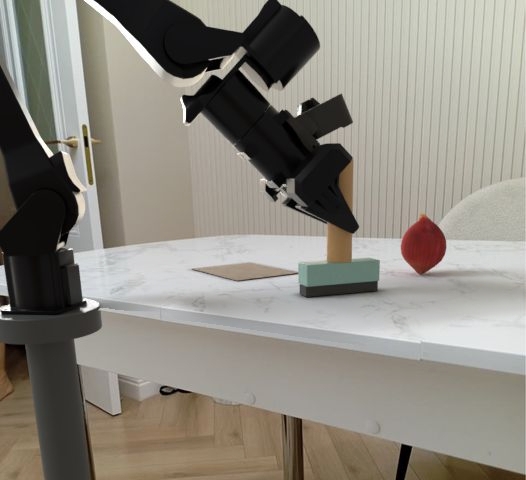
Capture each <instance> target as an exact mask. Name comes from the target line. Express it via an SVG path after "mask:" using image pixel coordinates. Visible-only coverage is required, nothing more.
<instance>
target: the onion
mask: <svg viewBox="0 0 526 480" xmlns="http://www.w3.org/2000/svg"><path fill="white" fill-rule="evenodd" d="M446 252H447V239H446V237H445V233H444V232H443V230H442V229H441V228H440V226H438V224H436V223H435V222H434V221H433V220H432V219H430V218H429V217H428V215H427V214H426V213H424V212H420V214H419V218H418V220H417V221H416V222H415V223H413V224H412V225H411V226H410V227H409V228H408V229H407V230H406V231H405V232H404V233H403V236H402V239H401V244H400V253H401V256H402V258H403V259H404V261H405V262H406V263H407V264H408V266H410V267H411V268H412V269H413V270H414V271H415V273H416V274H418V275H424V274H426V273H427V272H429V271H430V270H432V269H434V268H435V267H436V266H438V265H439V264H440V263H441V262H442V260H443V259H444V257H445V255H446Z"/></svg>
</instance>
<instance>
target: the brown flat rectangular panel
mask: <svg viewBox="0 0 526 480" xmlns="http://www.w3.org/2000/svg"><path fill="white" fill-rule="evenodd" d="M191 270H192V271H197V272H201V273H205V274H208V275H211V276H216V277H220V278H222V279H223V278H224V279H228V280H232V281H235V282H243V281H250V280H258V279H265V278H274V277H282V276H289V275H290V276H291V275H297V274H298V271H293V270H288V269H282V268H278V267H272V266H268V265H263V264H257V263H253V262H243V263H242V262H241V263H234V264H233V263H232V264H223V265H215V266H204V267H196V268H191Z"/></svg>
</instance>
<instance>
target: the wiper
mask: <svg viewBox="0 0 526 480" xmlns="http://www.w3.org/2000/svg"><path fill="white" fill-rule="evenodd" d="M339 188H340V190H341V192H342V194H343V196H344V198H345V200H346V202H347V204H348V206H349V208H350V209H351V211H352V213H353V210H354V208H353V207H354V205H353V204H354V158H353V159H352V161H351V162H350V163H349V165H348V166H347V167H346V168H345V169H344V170H343V171H342V172H341V173H340V177H339ZM297 268H298V271H297V272H298V275H297V276H298V285H299V295H300V296H303V297H304V298H312V297H325V296H333V295H335V296H336V295H345V294H356V293H368V292H378V288H379V281H380V271H381V270H380V269H381V260H380V259H377V258H373V257H358V258H357V257H356V258H353V234H351V233H349V232H347V231H345V230H342V229H340V228H338V227H336V226H334V225H332V224H330V223H328V222H327V224H326V260H314V261H302V262H301V261H300V262H298V267H297Z"/></svg>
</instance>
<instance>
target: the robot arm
mask: <svg viewBox="0 0 526 480" xmlns="http://www.w3.org/2000/svg"><path fill="white" fill-rule="evenodd" d="M83 1H84V2H86V3H87V4H88V5H89V6H90V7H92V8H93V10H96V12H98V13H99V14H101V15H102V17H104V18H105V19H107V21H109V22H110V23H111V24H113V25H114V26H115V27H116V28H117V29H118V30H119V31H120V32H121V33H122V35H123V36H124V37H125V38H126V39H127V41H128V42H129V43H130V44H131V46H132V47H133V48H134V49H135V51H136V52H137V53H138V54H139V55H140V57H141V58H142V59H143V60H144V61H145V62H146V63H147V64H148V65H149V67H150V68H151V69H152V70H153V71H154V72H155V73H156V75H157V76H158V77H159V78H160V79H161V80H162V81H163V82H164V83H166V84H168V85H170V86H172V87H175V88H187V87H191V86H193V85H195V84H197V83H198V82H199V81H200V80H201V79H202V78H203V77H204V75H205V74H206V73H211V72H216V71H222V70H224V69H225V68H226V67H227V65H228V64H229V63H230V62H231V60H232V59H233V58H234V57H236V58H237V59H238V61H237V62H236V63H235V65H234V66H233V67H232V68H231V69H230V70H229V71H228V73H227V74H225V76H224V77H223V78H221V77H219V76H218V75H215V74H211V75H210V76H208V78H207V79H206V80H205V81H204V82H203V84H202V85H201V87H199V89H197V91H196V92H195V93H194V94H191V95H189V94H188V95H187V94H182V95H181V97H180V103H181V106H182V111H183V121H182V123H183V125H184V126H185V127H189V126H191V124H192V123H193V122H194V121H195V120H196V119H197V117H199V115H200V114H201V115H202V116H203V117H204V118H205V119H206V120H207V122H208V123H210V124H211V125H212V126H213V128H214V129H215V130H216V131H217V132H218V133H220V135H221V136H222V137H223V138H224V139H225V140H226V141H227V142H228V143H229V144H230V145H231V146H232V147H233V148H234V149H235V150H236V151H237V153H236V154H237V156H238V157H239V158H240V159H241V161H243V162H245V161H246V162H248V164H249V165H251V166H252V167H253V168H254V170H256V171H257V173H258V174H260V175H261V178H260V180H259V191H260V192H261V193H262V194H263V196H264V197H266V198H267V199H268V200H269V201H270V203H276V202H277V201H278V200H279V197H278V195H279V194H281V195H282V196H283V197H284V198H285V199H284V200H283V201H282V202H281V203H280V204H281V206H282V207H284V208H287V209H289V210H293V211H295V212H297V213H299V214H301V215H304V216H306V217H308V218H311V219H313V220H316V221H318V222H320V223H323V224H324V225H327V222H328V223H330V224H332V225H334V226H336V227H338V228H340V229H342V230H345V231H347V232H349V233H351V234H352V235H353V234H355V233H356V232H357V231H358V230H359V229H360V224H359V223H358V221H357V219H356V217H355V215H354V214H353V213H352V211H351V209H350V208H349V206H348V204H347V202H346V200H345V198H344V196H343V194H342V192H341V190H340V188H339V177H340V173H341V172H342V171H343V170H344V169H345V168H346V167H347V166H348V165H349V163H350V162H351V161H352V159H353V160H354V156H352V155H351V154H350V153H349V151H348V150H347V149H346V148H345V147H344V146H343V145H342V143H339V142H331V143H330V142H329V143H322V144H321V143H320V142H319V141H318V140H319V139H321V138H322V137H325V136H327V135H329V134H330V133H333V132H334V131H336V130H339V129H340V128H342V129H345V128H346V127H349V126H350V125H352V124H353V123H354V120H353V118H352V115H351V113H350V110H349V108H348V106H347V103H346V100H345V98H344V96H343V93H342V92H341V93H339V94H337V95H335V96H332V97H331V98H328V99H327V100H325V101H322V102H319V101H318V99H317V100H316V99H315V97H310V98H308V99H307V100H305V101H303V102H301V103H299V104H297V114H296V115H295V116H294V115H293V114H292V113H291V112H290V111H289V110H287V109H283V108H282V109H279V110H277V108H276V107H274V105H273V104H272V103H271V102H270V101H269V100H268V99H267V98H266V97H265V96H264V95H263V93H261V92H260V90H259V89H258V88H260V89H261V90H262V91H264V92H266V93H269V91H270V90H271V89H272V88H273V89H274V90H275V91H279V92H283V91H284V90H285V88H286V87H288V85H289V84H290V83H291V82H292V81H293V79H295V77H296V76H297V75H298V74H299V73H300V72H301V71H302V70H303V68H304V67H305V66H306V65H307V64H308V63H309V62H310V61H311V59H312V58H313V57H314V56H315V54H317V53H318V51H320V49H321V42H320V39H319V37H318V35H317V33H316V31H315V29H314V27H313V26H312V25H311V24H310V23H309V21H308V20H307V19H306V17H304V16H303V15H302V14H300V15H299V13H297V12H296V11H295V10H294V9H292V8H291V7H289V6H287V5H284V4H281V3H280V2H279V0H267V1H266V2H265V3H264V4H263V5H262V7H261V9H260V10H259V12H258V13H257V15H256V17H255V18H254V19H253V20H252V21H251V22H250V23H249V25H247V27H246V28H245V29H244V30H243V32H241V31H235V30H230V29H225V28H219V27H212V26H207V25H206V24H205V22H203V20H202V19H201V18H200V17H198V16H197V15H195V14H193V13H192V12H190V11H188V9H185V8H183V7H182V6H180V5H178V4H176V3H175V2H173V1H171V0H83ZM240 69H241V70H243V72H245V74H246V75H247V76H246V75H245V74H244V73H243V72H242V71H241V70H240ZM249 79H250V80H249ZM251 81H252V82H253V83H254V84H253V83H252V82H251ZM255 85H256V86H257V87H258V88H257V87H256V86H255ZM0 153H1V156H2V160H3V165H4V170H5V175H6V182H7V185H8V189H9V192H10V194H11V198H12V201H13V204H14V207H15V210H16V211H15V213H14V214H13V215H12V216H11V217H10V218H9V219H8V221H6V223H5V224H4V225H3V226H2V227H1V229H0V249H1V256H2V260H3V261H2V262H3V268H4V275H5V283H6V287H7V288H6V289H7V296H8V304H9V305H10V307H7V308H4V309H2V310H1V314H4V315H60V314H62V313H65V312H67V311H69V310H72V309H74V308H77V307H79V306H81V305H84V304H86V303H87V300H86V299H87V298H83V291H82V281H81V272H80V265H79V264H78V262H75V253H74V248H66V246H67V244H68V240H69V237H70V235H71V233H70V232H71V231H72V230H74V229H76V228H77V227H78V226H79V225H80V224H81V223H82V221H83V219H84V216H85V214H86V211H87V210H86V201H85V197H84V195H83V193H86V192H87V191H88V189H87V187H86V186H85V185H83V183H81V181H80V179H79V177H78V176H77V174H76V171H75V167H74V163H73V161H72V158H71V155H70V153H67V152H64V151H62V150H59V151H57V152H56V153H53V152H52V150H51V149H50V148H49V146H48V145H47V144H46V143H45V141H44V140H43V138H42V136H41V135H40V132H39V130H38V128H37V127H36V124H35V122H34V120H33V119H32V117H31V114H30V112H29V110H28V108H27V105H26V104H25V102H24V100H23V98H22V96H21V94H20V91H19V90H18V88H17V85H16V84H15V81H14V79H13V77H12V75H11V73H10V71H9V68H8V67H7V66H6V63H5V61H4V59H3V57H2V55H1V54H0Z"/></svg>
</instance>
